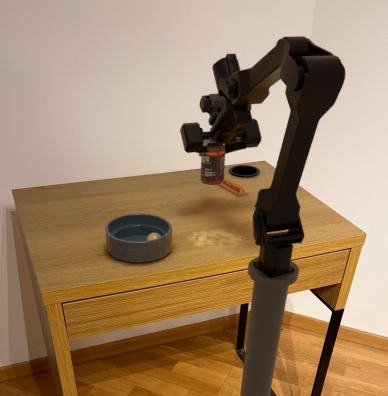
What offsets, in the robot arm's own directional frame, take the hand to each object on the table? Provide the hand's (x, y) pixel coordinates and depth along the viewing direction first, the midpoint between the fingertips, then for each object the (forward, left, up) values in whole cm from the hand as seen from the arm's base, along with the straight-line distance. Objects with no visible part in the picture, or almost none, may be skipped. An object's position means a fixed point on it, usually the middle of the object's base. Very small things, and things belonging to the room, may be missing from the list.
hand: (211, 153), depth 122 cm
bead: (-19, +25, -10) cm, 32 cm away
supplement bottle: (-1, 0, -7) cm, 7 cm away
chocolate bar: (+6, -10, -12) cm, 17 cm away
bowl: (-16, +27, -12) cm, 34 cm away
